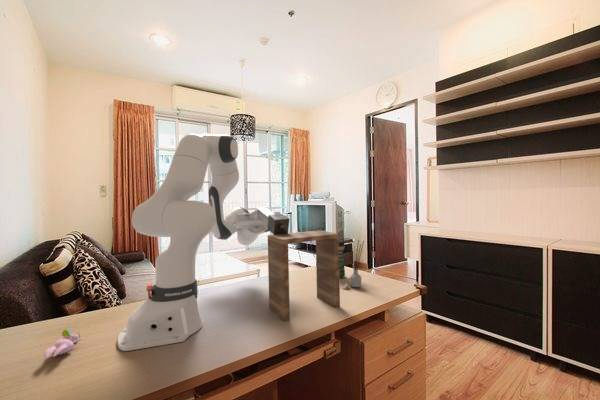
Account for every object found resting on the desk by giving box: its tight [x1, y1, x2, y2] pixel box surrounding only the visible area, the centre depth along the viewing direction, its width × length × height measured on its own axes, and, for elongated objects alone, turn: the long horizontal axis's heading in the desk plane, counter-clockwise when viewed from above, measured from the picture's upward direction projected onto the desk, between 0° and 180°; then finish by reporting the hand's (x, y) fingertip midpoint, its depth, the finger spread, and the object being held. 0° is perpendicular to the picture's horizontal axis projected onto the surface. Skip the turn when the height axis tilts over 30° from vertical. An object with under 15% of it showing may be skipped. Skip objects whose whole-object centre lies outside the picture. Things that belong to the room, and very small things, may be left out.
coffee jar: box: [339, 237, 346, 279], centre depth 138 cm, size 10×8×19 cm
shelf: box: [267, 229, 341, 322], centre depth 101 cm, size 22×12×26 cm, turn 119°
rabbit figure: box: [43, 328, 82, 359], centre depth 75 cm, size 6×6×15 cm
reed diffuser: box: [343, 239, 365, 289], centre depth 121 cm, size 10×7×20 cm
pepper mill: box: [256, 207, 290, 235], centre depth 110 cm, size 6×21×6 cm, turn 29°
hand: (263, 211), depth 117 cm, fingers closed on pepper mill, 4 cm apart
